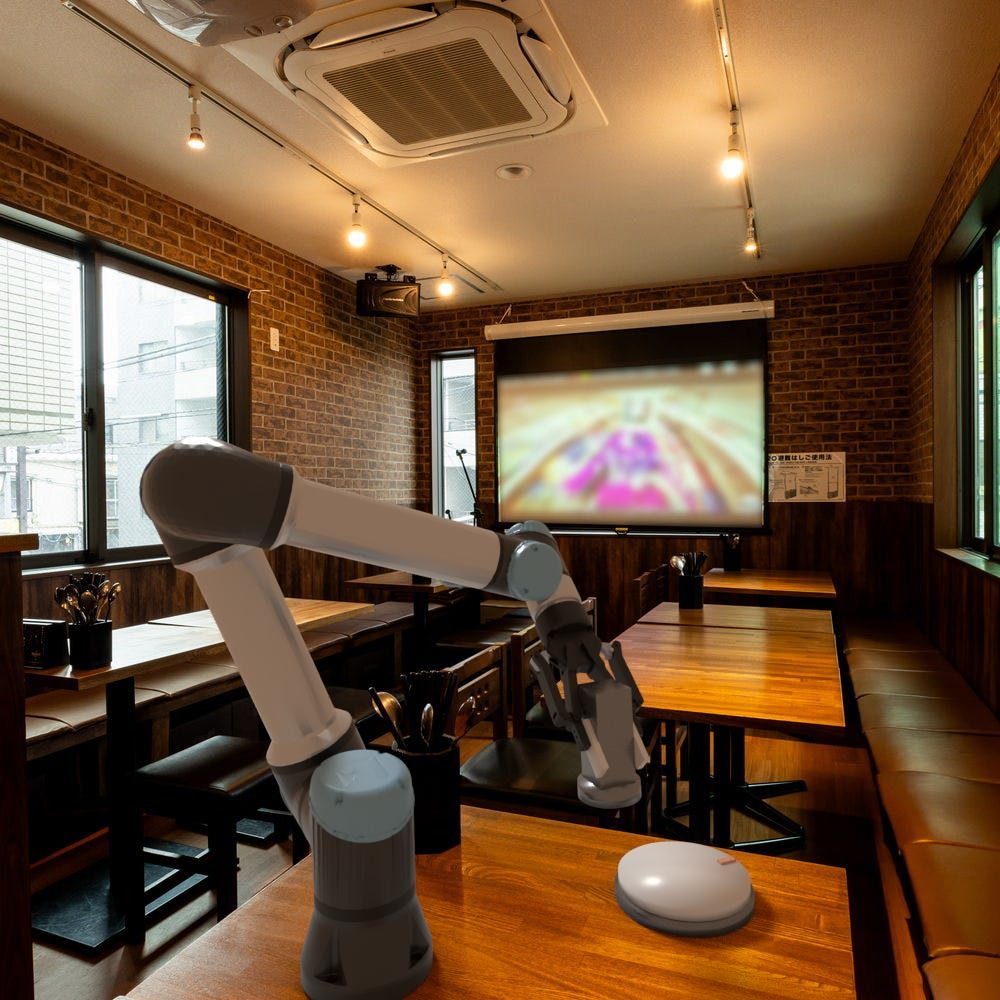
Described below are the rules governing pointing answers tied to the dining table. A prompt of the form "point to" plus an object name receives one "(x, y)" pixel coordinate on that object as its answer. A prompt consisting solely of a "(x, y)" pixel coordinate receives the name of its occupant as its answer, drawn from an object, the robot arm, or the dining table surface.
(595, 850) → the dining table surface
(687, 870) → the turntable platter
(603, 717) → the square post on disc
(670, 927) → the base
